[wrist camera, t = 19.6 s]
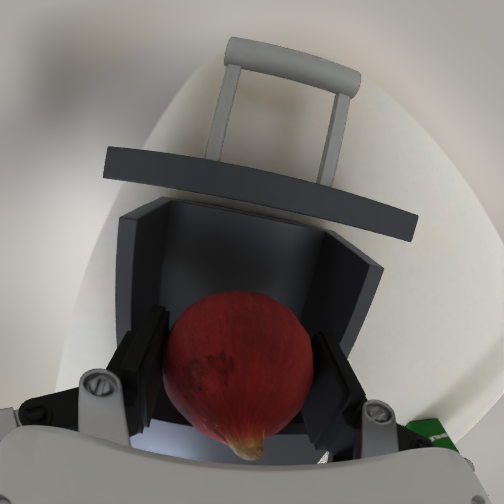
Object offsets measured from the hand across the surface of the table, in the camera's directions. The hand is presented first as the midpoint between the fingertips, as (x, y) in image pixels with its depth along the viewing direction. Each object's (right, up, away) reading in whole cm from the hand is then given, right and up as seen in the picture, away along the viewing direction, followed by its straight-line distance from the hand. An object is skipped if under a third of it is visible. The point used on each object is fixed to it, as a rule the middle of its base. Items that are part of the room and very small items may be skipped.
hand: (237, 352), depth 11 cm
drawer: (0, +5, +7) cm, 9 cm away
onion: (0, +1, +3) cm, 3 cm away
